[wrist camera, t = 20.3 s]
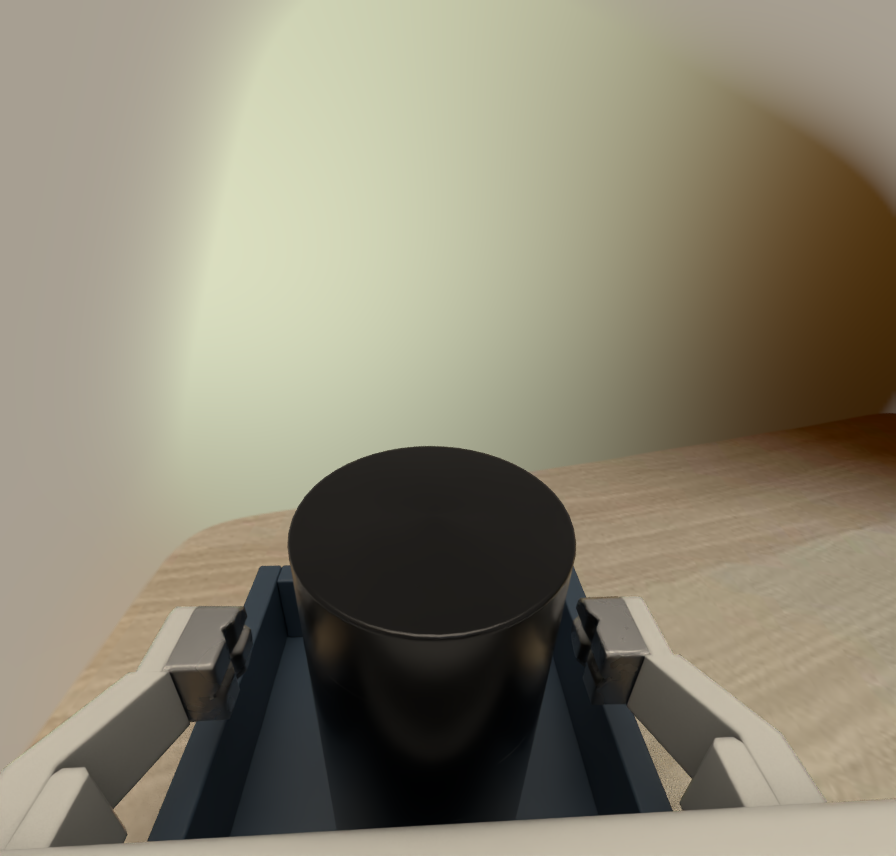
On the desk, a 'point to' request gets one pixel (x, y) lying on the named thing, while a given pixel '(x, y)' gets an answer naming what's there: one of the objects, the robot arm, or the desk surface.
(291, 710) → the holder
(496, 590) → the cylinder
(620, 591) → the desk surface
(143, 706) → the robot arm
